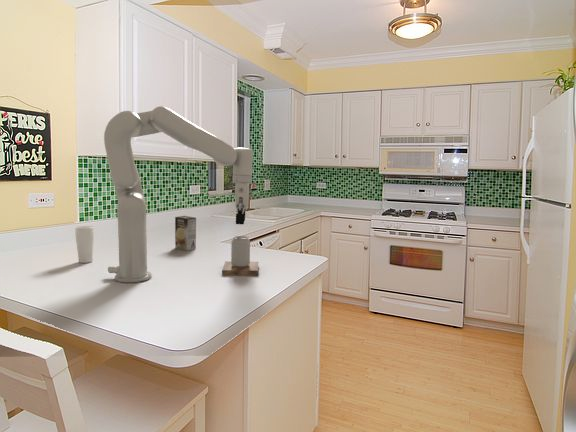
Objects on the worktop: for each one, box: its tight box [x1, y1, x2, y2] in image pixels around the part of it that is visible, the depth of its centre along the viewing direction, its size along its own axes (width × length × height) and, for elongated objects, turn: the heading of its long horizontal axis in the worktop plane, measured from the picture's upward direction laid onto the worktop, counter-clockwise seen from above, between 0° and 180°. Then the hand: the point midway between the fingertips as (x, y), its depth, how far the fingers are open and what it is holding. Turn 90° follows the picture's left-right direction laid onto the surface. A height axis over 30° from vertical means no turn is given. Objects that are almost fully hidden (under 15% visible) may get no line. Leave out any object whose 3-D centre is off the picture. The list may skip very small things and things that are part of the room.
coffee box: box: [174, 215, 197, 251], centre depth 195 cm, size 9×6×16 cm
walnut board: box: [221, 260, 259, 277], centre depth 157 cm, size 14×14×2 cm
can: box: [230, 235, 251, 268], centre depth 156 cm, size 8×8×12 cm
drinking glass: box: [75, 225, 95, 264], centre depth 162 cm, size 7×7×15 cm
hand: (240, 222), depth 155 cm, fingers open, 9 cm apart
